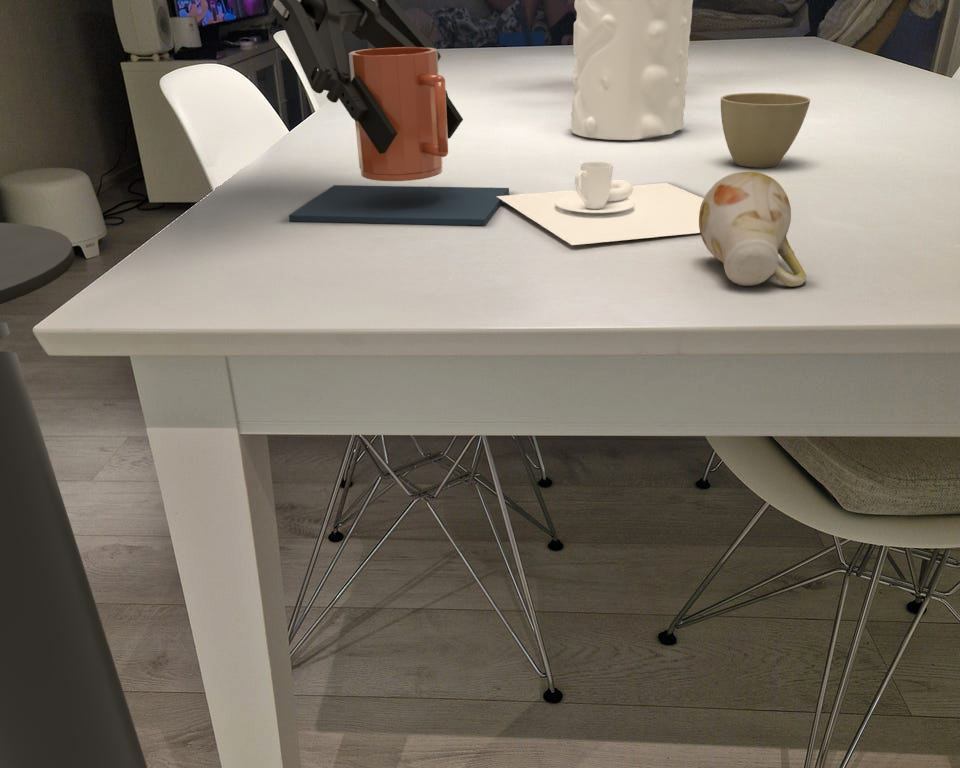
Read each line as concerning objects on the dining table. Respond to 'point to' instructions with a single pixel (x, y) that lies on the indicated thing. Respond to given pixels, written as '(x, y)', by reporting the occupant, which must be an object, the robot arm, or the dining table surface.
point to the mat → (402, 205)
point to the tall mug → (404, 112)
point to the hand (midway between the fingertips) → (422, 136)
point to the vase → (630, 68)
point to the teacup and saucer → (610, 208)
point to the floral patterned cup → (749, 229)
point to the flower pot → (761, 126)
